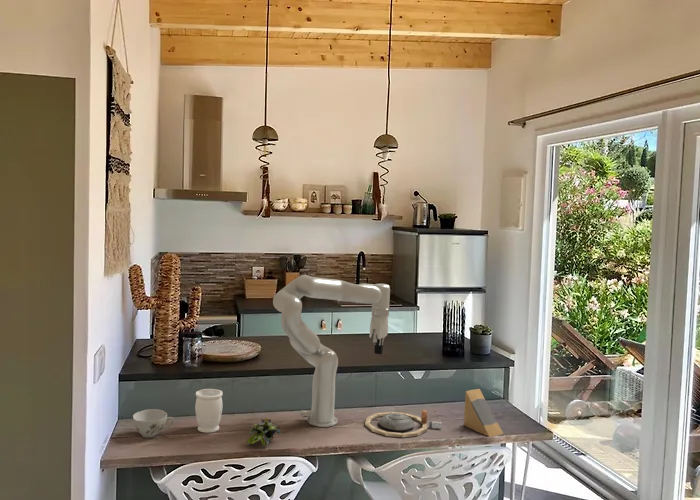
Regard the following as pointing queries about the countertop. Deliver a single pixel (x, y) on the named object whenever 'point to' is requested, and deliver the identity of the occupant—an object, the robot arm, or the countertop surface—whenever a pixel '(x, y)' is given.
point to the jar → (208, 409)
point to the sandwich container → (480, 414)
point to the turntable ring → (421, 420)
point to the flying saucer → (396, 422)
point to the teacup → (151, 422)
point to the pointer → (435, 425)
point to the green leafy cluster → (263, 432)
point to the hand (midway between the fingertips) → (378, 353)
